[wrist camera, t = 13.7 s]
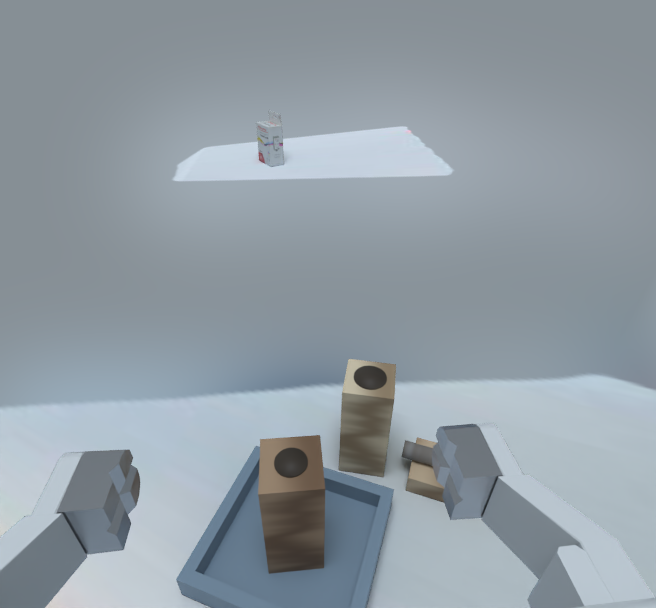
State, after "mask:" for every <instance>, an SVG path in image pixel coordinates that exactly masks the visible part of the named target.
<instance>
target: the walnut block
mask: <svg viewBox="0 0 656 608" xmlns="http://www.w3.org/2000/svg"><path fill="white" fill-rule="evenodd" d="M258 497H259V504H260V512H261V519H262V527H263V534H264V542H265V549H266V557H267V564H268V572H269V574H271V573H282V572H292V571H302V570H312V569H322V568H324V540H325V481H324V471H323V462H322V452H321V442H320V435H316V436H302V437H288V438H274V439H260V462H259V487H258Z"/></svg>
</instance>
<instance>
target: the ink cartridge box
mask: <svg viewBox="0 0 656 608" xmlns="http://www.w3.org/2000/svg"><path fill="white" fill-rule="evenodd" d="M268 112H269V119H270V121H263V122H257V123H256V124H257V136H258V151H259V160H260V161H261V162H263V163H265V164H267V165H269V166H270V167H272V166H278V165H283V164H284V156H283V136H282V123H281V115H280V114H277V113H275V112H271V111H268ZM274 115H275V117H277V119H275V118H273V116H274Z"/></svg>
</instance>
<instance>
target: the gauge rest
mask: <svg viewBox="0 0 656 608" xmlns="http://www.w3.org/2000/svg"><path fill="white" fill-rule="evenodd" d="M435 444H437V443H435V442H432V441H428V440H424V439H421V438H417V440H416V443H413V442H409V441H406V440H405V444H404V448H403V453H402V457H404V458H407V459H411V460H412V463H411V467H410V472H409V476H408V481H407V487H406V491H410V492H413V493H416V494H419V495H422V496H426V497H429V498H432V499H435V500H438V501H441V502H444V500H443V497H442V495H443V491H444V487H443V486H442V485H441V484H440V483H438V482H437V480H436V477H435V474H434V470H433V466H432V450H433V446H434V445H435Z"/></svg>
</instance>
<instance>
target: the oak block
mask: <svg viewBox="0 0 656 608" xmlns="http://www.w3.org/2000/svg"><path fill="white" fill-rule="evenodd" d="M395 373H396V365H395V364H387V363H379V362H370V361H362V360H353V359H349V360H348V365H347V370H346V376H345V381H344V386H343V391H342V410H341V433H340V456H339V470H341V471H348V472H354V473H361V474H367V475H374V476H380V477H383V476H384V469H385V462H386V454H387V447H388V440H389V433H390V426H391V419H392V411H393V404H394V393H395Z"/></svg>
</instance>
